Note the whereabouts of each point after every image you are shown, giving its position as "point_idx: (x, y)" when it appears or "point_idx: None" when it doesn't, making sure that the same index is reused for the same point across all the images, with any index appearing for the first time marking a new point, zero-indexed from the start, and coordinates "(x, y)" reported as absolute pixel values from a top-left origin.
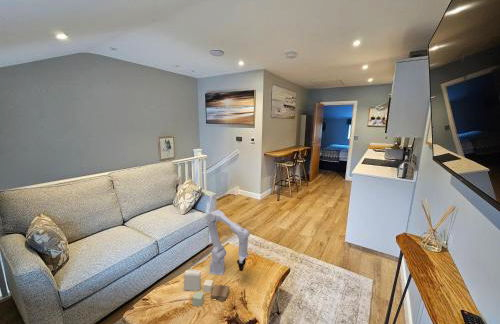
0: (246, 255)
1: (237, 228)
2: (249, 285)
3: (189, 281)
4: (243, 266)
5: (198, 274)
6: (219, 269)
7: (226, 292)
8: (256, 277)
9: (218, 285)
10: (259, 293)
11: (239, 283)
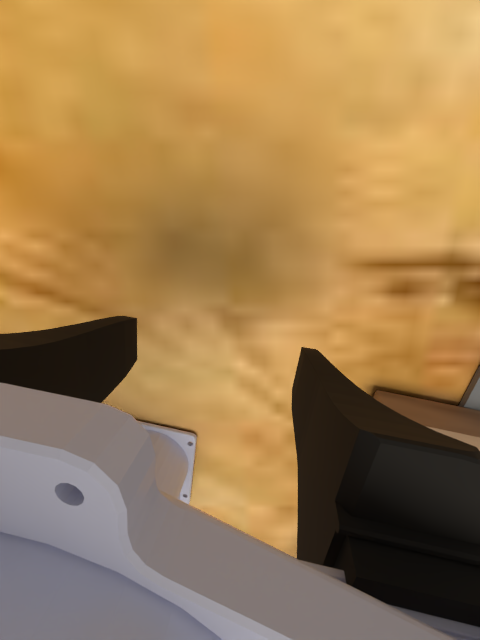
0: (122, 593)
1: None
2: (307, 214)
3: None
4: (371, 402)
5: None
6: (174, 483)
7: (475, 441)
8: (181, 133)
9: None
10: (441, 92)
11: (280, 309)
